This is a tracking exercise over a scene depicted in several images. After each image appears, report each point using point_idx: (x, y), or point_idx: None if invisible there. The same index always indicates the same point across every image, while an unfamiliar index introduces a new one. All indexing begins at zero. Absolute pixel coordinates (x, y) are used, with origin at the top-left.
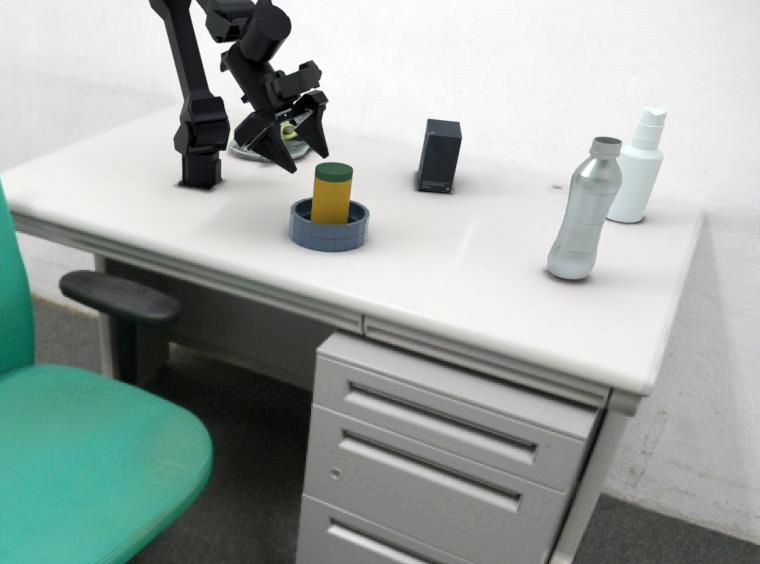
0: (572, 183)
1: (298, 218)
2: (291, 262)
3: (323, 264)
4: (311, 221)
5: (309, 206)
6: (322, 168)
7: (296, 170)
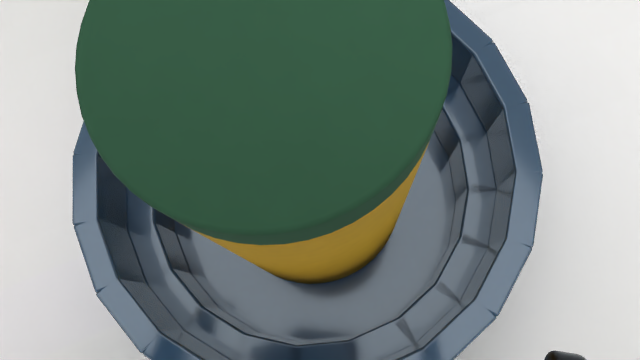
0: None
1: (517, 275)
2: (627, 238)
3: (555, 112)
4: (516, 186)
5: (199, 345)
6: (336, 135)
7: (566, 353)
